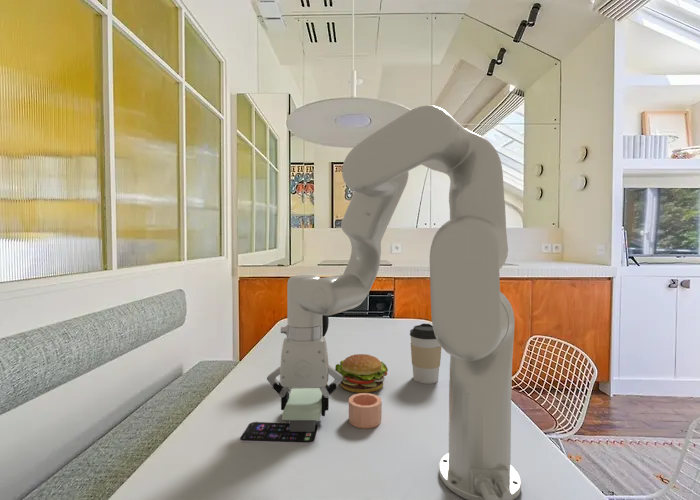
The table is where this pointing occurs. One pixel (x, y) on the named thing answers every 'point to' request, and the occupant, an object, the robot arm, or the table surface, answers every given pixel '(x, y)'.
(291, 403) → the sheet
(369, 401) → the ramekin
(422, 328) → the coffee cup
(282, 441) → the smartphone
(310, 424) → the tall grey rectangular block
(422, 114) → the robot arm
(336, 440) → the table surface
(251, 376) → the table surface
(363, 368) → the food
